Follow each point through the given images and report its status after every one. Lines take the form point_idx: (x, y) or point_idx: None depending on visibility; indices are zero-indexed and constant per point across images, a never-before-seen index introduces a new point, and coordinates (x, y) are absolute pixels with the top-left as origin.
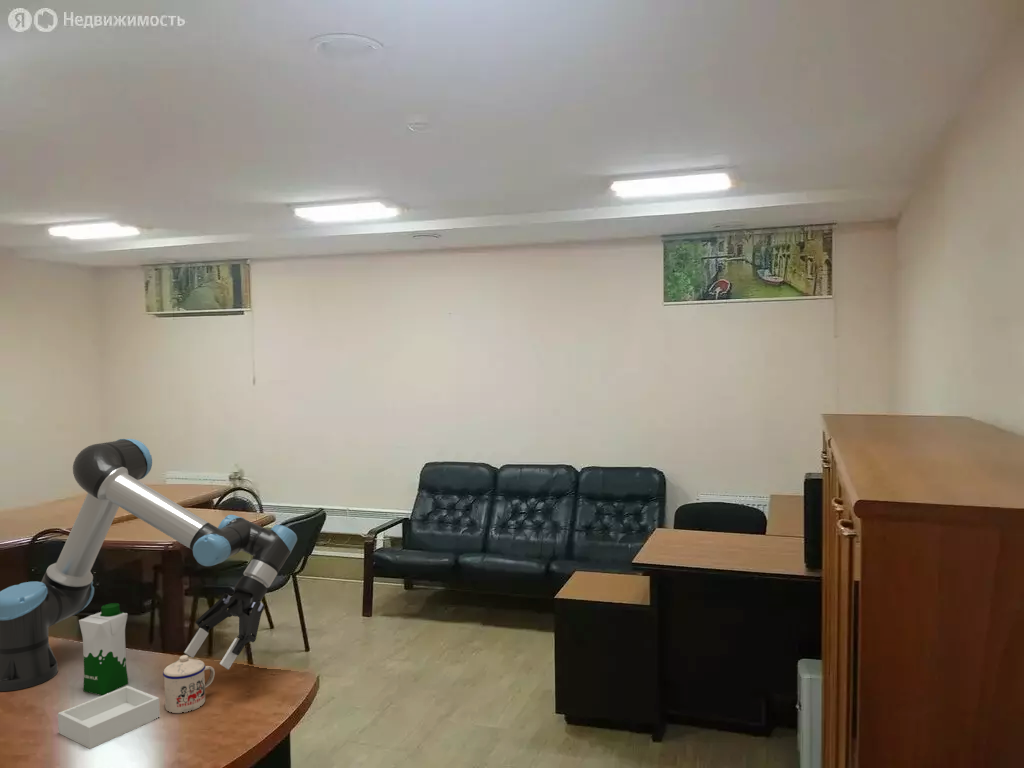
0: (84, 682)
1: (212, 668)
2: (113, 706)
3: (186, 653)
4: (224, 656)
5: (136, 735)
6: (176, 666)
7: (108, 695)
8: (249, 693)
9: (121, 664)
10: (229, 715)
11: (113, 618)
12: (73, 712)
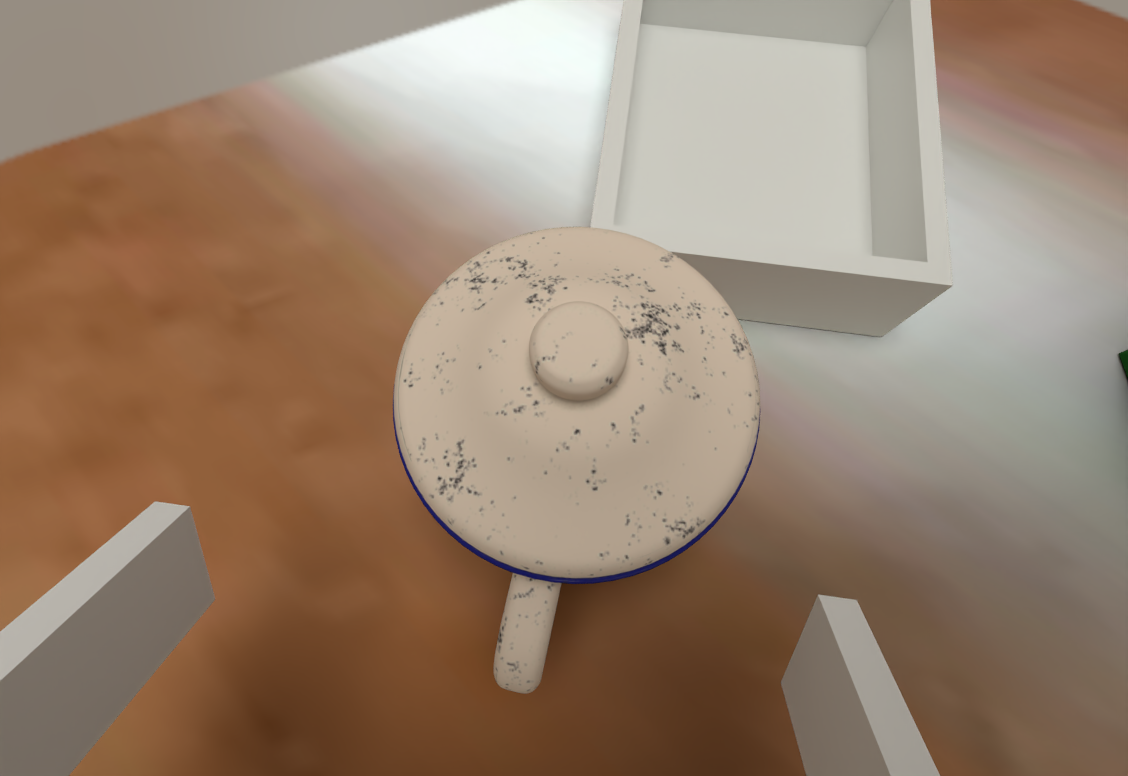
0: None
1: (494, 663)
2: (876, 236)
3: (814, 604)
4: (110, 571)
5: (538, 153)
6: (572, 275)
7: (918, 167)
8: (288, 761)
9: None
10: (228, 459)
11: None
12: (898, 26)
